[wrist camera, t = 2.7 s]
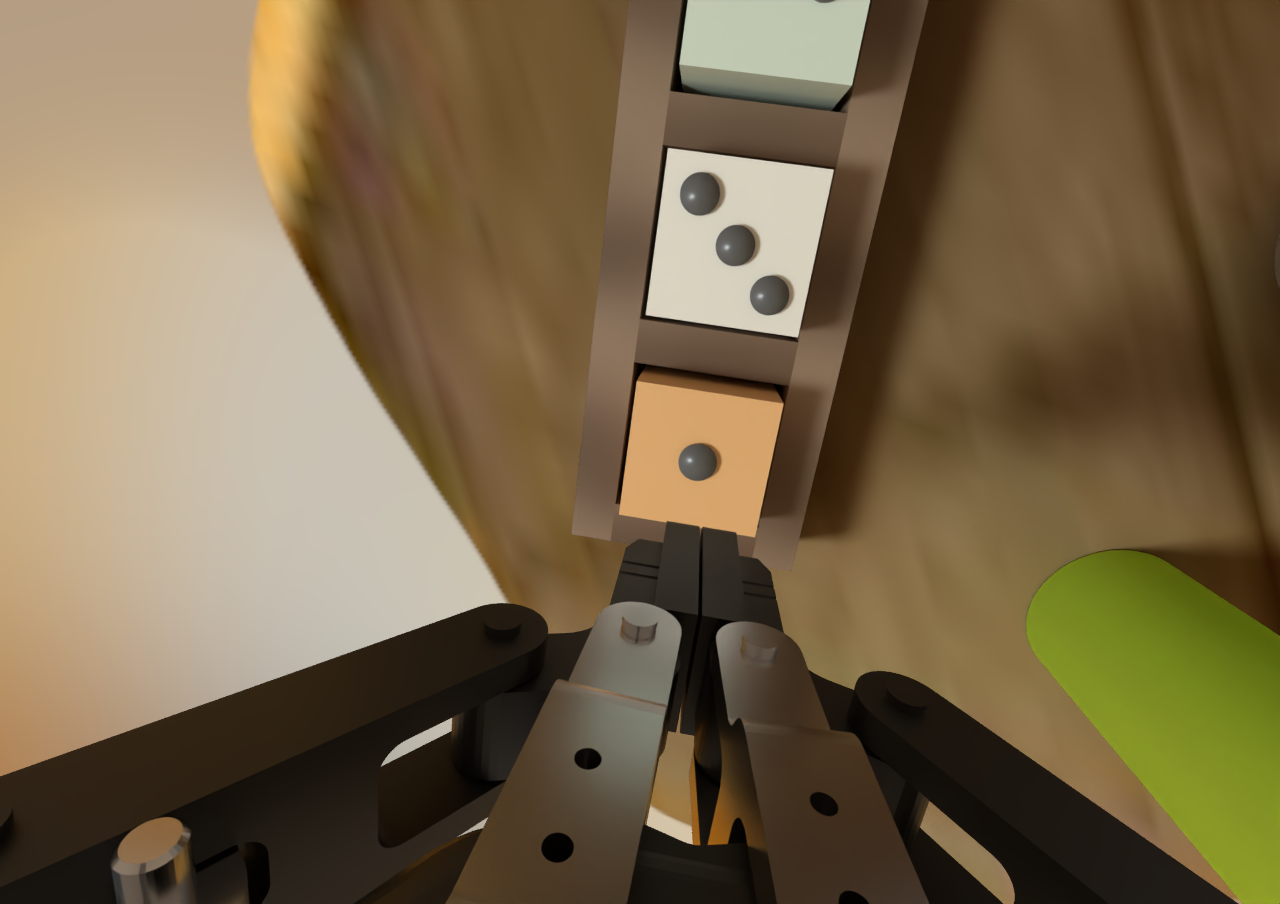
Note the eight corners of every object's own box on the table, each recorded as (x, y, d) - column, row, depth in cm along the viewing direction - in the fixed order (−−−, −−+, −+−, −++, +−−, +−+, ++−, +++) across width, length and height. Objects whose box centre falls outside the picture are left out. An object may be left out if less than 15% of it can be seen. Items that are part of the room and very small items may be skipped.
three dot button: (674, 164, 19) (667, 147, 16) (814, 183, 19) (835, 168, 16) (653, 307, 21) (645, 315, 18) (785, 326, 20) (798, 337, 17)
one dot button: (646, 364, 21) (636, 381, 18) (773, 384, 21) (784, 404, 18) (629, 482, 23) (618, 516, 20) (748, 502, 22) (755, 539, 19)
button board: (659, -143, 18) (651, -206, 15) (934, -115, 17) (970, -175, 15) (584, 507, 24) (571, 533, 22) (782, 540, 24) (791, 571, 22)
